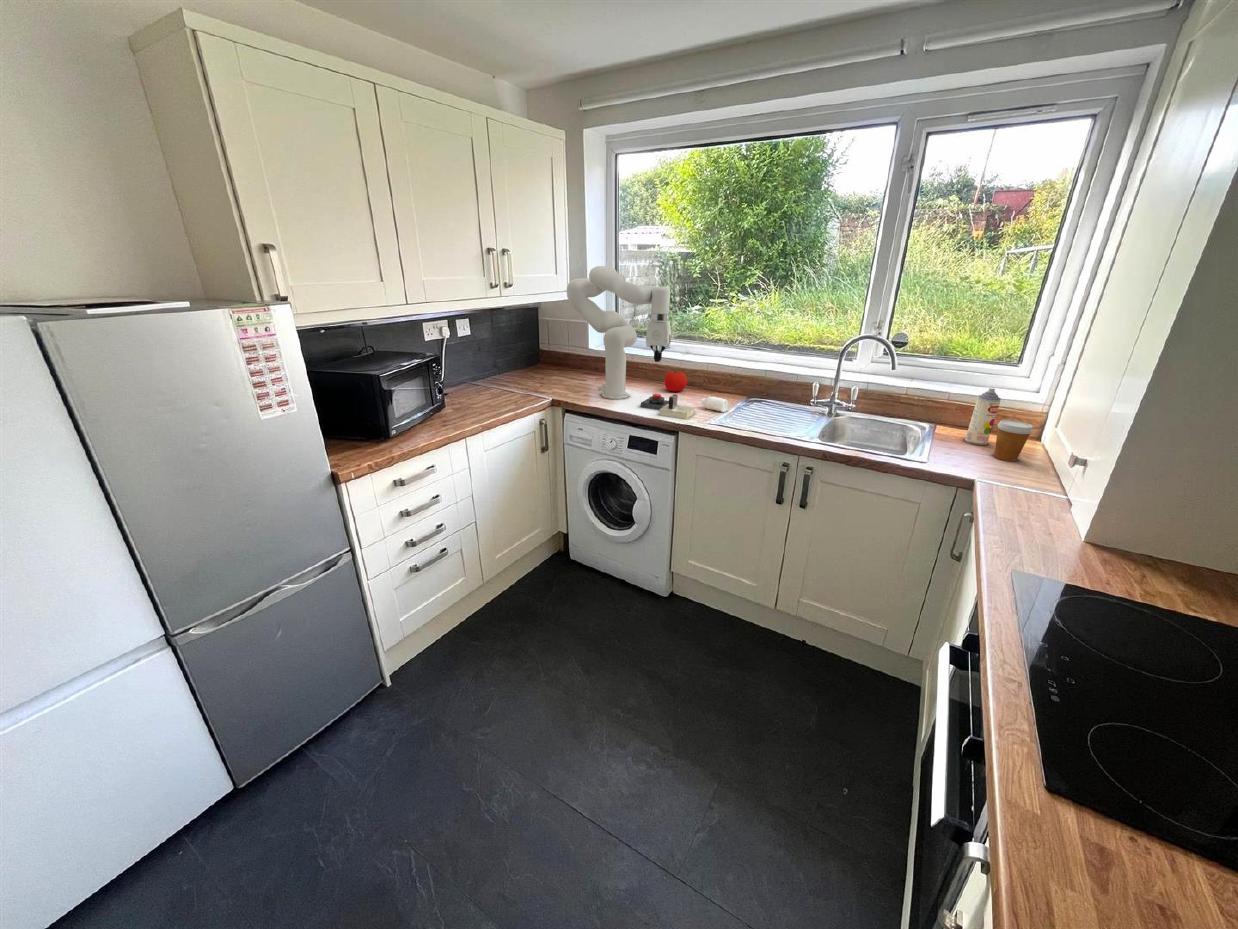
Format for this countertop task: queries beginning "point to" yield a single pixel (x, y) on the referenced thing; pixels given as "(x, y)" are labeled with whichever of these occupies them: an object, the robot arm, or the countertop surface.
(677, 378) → the tomato
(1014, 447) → the disposable coffee cup
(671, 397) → the black rectangular block
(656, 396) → the button
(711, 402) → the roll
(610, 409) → the countertop surface
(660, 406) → the block
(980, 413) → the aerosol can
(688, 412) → the cream flat block
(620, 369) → the robot arm
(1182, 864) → the countertop surface
